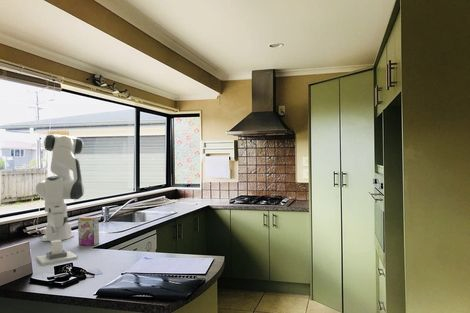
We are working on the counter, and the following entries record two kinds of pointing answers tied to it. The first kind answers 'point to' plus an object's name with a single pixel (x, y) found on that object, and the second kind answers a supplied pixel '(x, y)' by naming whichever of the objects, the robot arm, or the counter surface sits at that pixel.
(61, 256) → the socket plate
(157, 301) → the counter surface
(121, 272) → the counter surface
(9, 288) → the counter surface
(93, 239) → the candy bar box
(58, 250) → the charger block
